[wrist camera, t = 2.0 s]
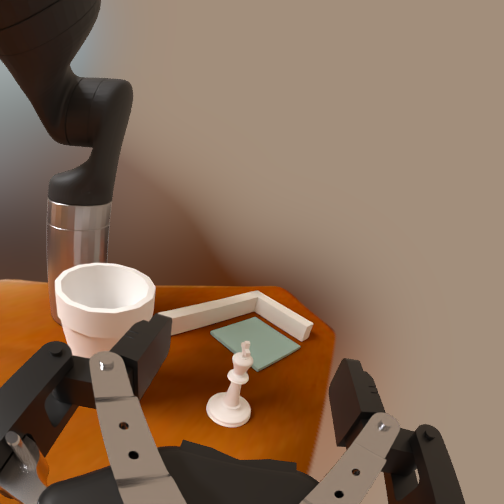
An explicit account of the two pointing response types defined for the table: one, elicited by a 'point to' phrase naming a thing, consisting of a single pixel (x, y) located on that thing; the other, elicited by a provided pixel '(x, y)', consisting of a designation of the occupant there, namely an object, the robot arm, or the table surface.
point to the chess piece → (233, 393)
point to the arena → (246, 325)
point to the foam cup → (101, 305)
